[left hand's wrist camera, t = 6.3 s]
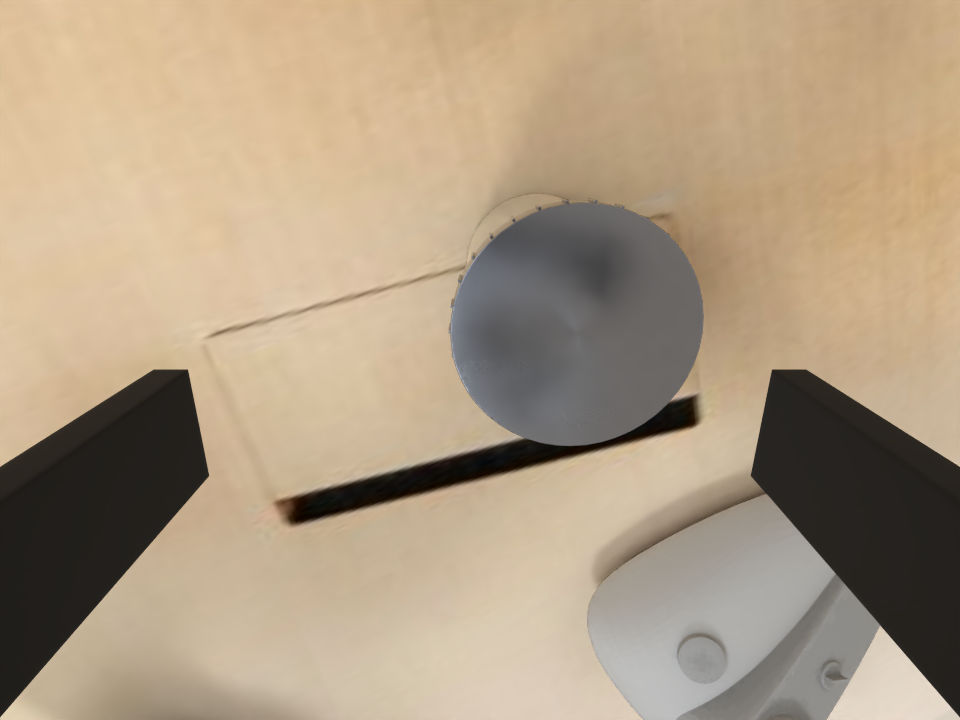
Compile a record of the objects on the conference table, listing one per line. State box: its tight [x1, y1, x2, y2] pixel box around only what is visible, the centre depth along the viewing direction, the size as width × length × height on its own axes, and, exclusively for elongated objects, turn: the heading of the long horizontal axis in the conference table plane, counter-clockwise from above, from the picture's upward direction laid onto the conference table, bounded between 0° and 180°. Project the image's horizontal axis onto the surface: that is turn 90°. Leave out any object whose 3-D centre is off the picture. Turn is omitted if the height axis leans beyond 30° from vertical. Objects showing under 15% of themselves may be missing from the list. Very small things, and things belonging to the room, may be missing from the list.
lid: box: [449, 198, 704, 446], centre depth 21 cm, size 10×10×2 cm
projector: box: [587, 494, 880, 720], centre depth 37 cm, size 22×23×15 cm
